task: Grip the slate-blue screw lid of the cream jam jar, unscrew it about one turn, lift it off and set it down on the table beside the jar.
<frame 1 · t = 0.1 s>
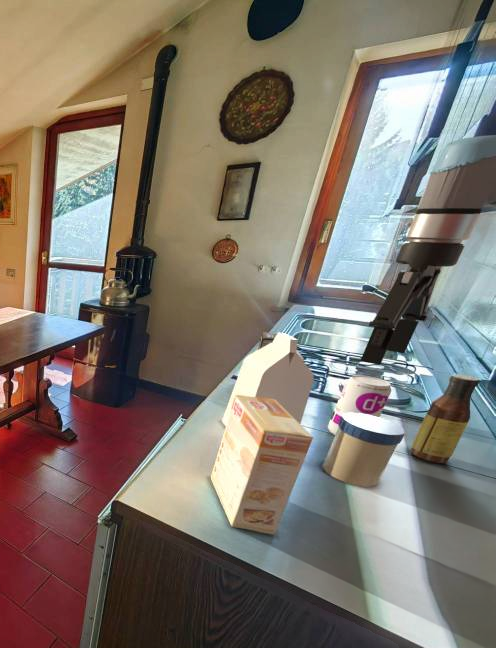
hand: (383, 356, 76), 26 cm above the counter, tool pointing down, fingers open, 13 cm apart
sauce bottle: (426, 457, 91), on the counter
jar: (349, 474, 84), on the counter
coffeecake box: (239, 504, 74), on the counter
supplement can: (346, 435, 100), on the counter
coffee box: (259, 382, 133), on the counter
lid: (371, 424, 79), point 12 cm above the counter, screwed on, not yet turned
milk: (254, 435, 99), on the counter
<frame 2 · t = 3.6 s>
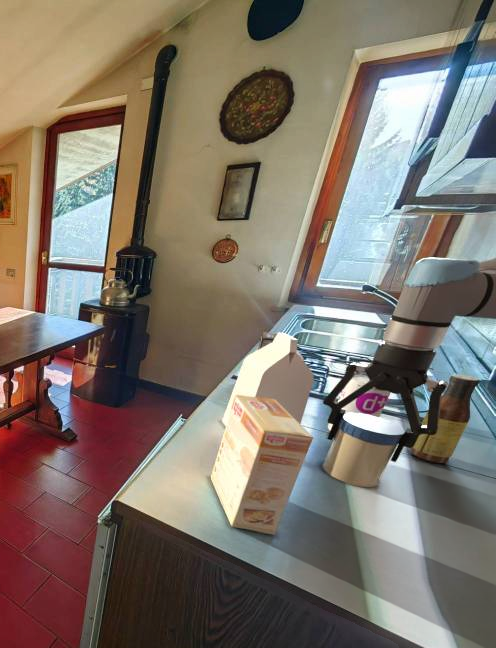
hand: (361, 447, 81), 7 cm above the counter, tool pointing down, fingers closed on lid, 9 cm apart
lid: (371, 424, 79), point 12 cm above the counter, screwed on, not yet turned, touching gripper
everything else where it was.
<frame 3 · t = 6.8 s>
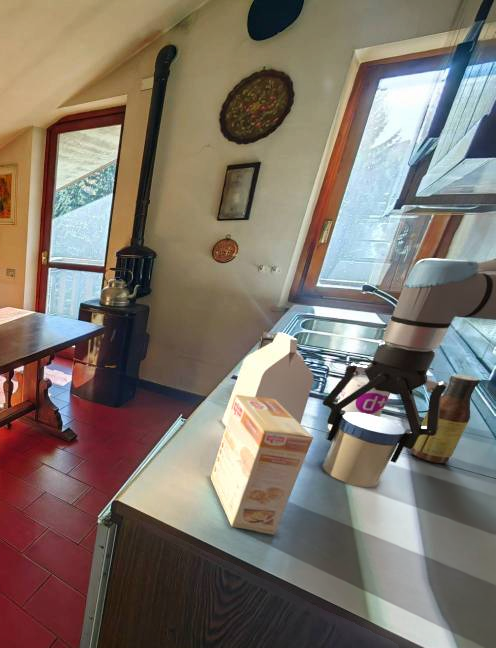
hand: (361, 448, 81), 6 cm above the counter, tool pointing down, fingers closed on lid, 9 cm apart
lid: (372, 424, 79), point 12 cm above the counter, turned 75° so far, risen 0.1 cm, still on its thread, touching gripper
everything else where it was.
when the fingers open (0 cm above the counter, at t = 23.5 s): lid drops 4 cm, point 2 cm above the counter.
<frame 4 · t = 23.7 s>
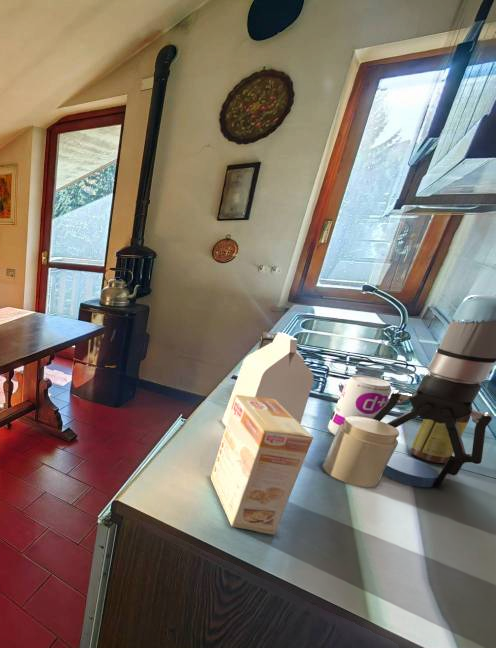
hand: (402, 472, 84), 0 cm above the counter, tool pointing down, fingers open, 9 cm apart
lid: (406, 466, 83), point 2 cm above the counter, off its thread, touching gripper
everything else where it was.
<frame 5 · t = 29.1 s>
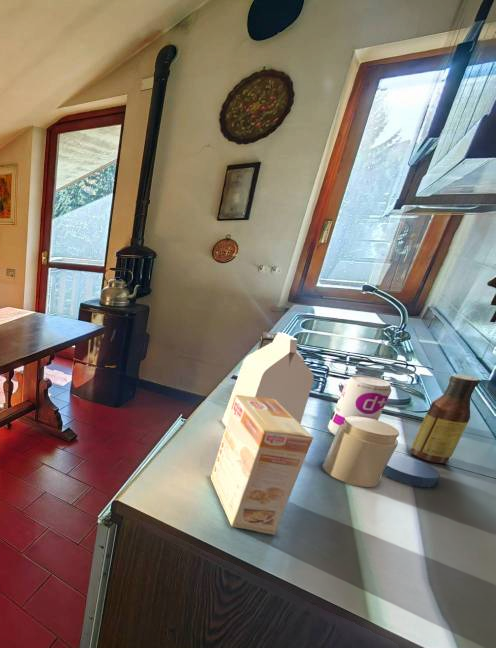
lid: (406, 466, 83), point 2 cm above the counter, off its thread
everything else where it was.
at the end: lid came off its thread; lid point 1.9 cm above the counter; the gripper is holding nothing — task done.
